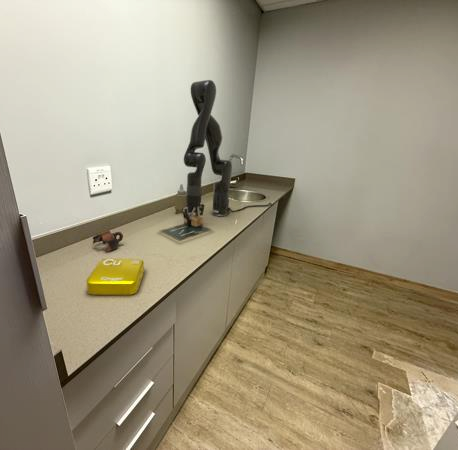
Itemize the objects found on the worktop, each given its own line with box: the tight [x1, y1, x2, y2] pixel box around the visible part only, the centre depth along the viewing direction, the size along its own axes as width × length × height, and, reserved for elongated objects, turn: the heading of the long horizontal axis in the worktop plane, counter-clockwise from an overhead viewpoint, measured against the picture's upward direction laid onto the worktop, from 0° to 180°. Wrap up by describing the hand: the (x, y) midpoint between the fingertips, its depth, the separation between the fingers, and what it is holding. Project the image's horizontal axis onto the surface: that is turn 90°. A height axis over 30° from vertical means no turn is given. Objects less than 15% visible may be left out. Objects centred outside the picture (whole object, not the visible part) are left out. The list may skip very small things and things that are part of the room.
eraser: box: [183, 213, 204, 229], centre depth 127 cm, size 5×9×5 cm, turn 45°
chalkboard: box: [159, 223, 213, 242], centre depth 121 cm, size 22×16×1 cm
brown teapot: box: [92, 229, 124, 253], centre depth 102 cm, size 12×10×8 cm
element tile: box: [86, 258, 145, 296], centre depth 79 cm, size 15×15×5 cm
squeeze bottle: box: [174, 183, 187, 215], centre depth 147 cm, size 8×8×18 cm
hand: (193, 224), depth 128 cm, fingers closed on eraser, 5 cm apart
